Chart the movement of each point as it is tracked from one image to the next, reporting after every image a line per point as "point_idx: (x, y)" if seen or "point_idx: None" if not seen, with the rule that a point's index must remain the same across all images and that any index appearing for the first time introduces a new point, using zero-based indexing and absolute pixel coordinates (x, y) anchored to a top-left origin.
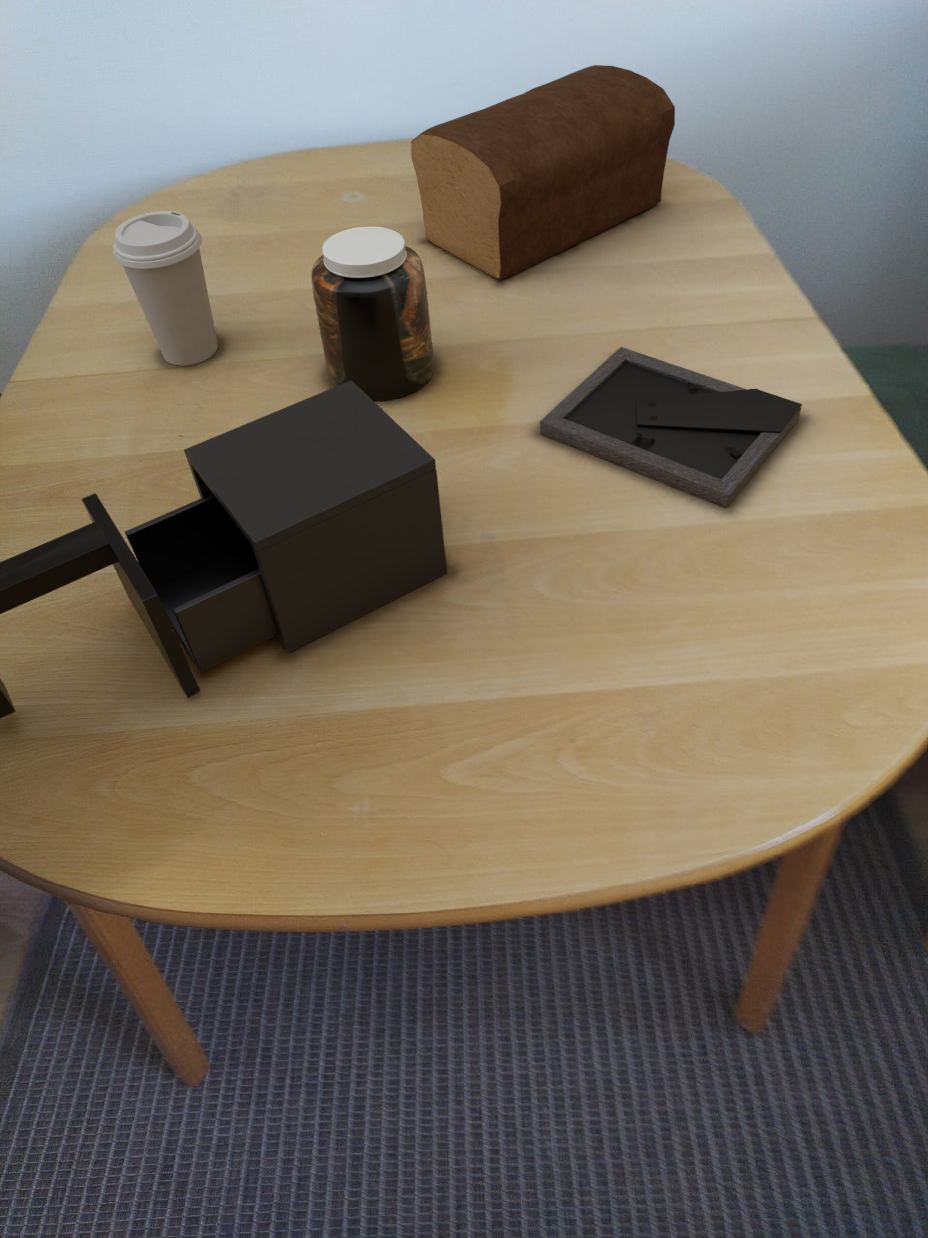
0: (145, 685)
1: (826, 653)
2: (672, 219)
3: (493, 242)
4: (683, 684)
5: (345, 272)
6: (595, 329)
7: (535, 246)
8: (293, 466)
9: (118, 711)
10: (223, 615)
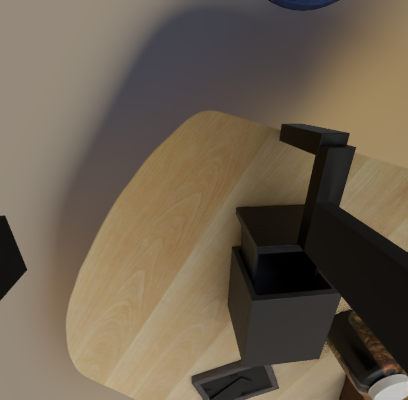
0: (258, 192)
1: (121, 371)
2: None
3: None
4: (133, 339)
5: (386, 380)
6: (296, 382)
7: (349, 392)
8: (286, 327)
9: (253, 177)
10: (249, 250)
